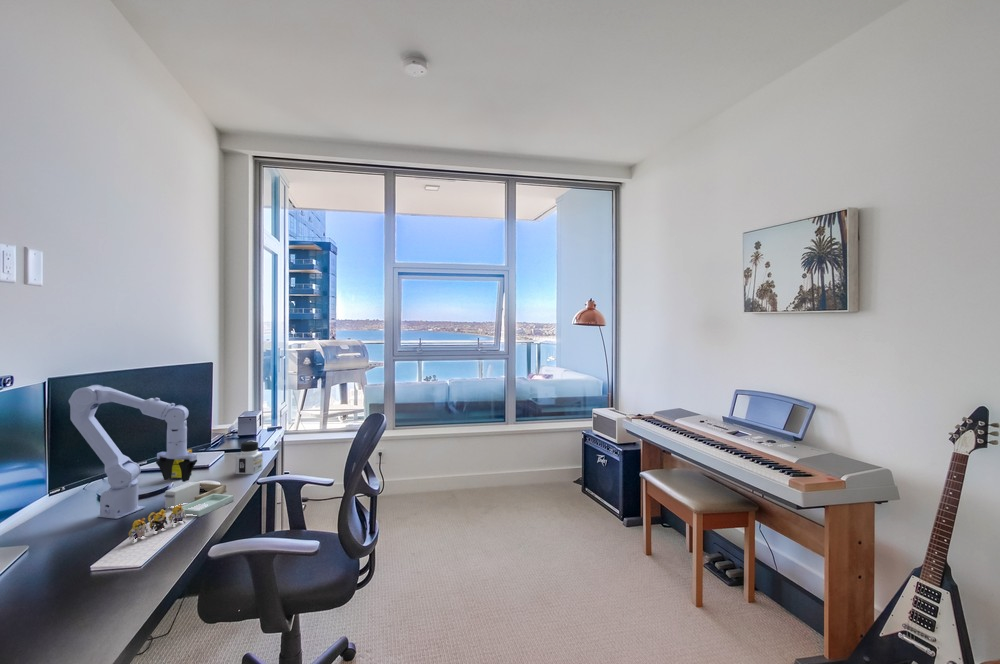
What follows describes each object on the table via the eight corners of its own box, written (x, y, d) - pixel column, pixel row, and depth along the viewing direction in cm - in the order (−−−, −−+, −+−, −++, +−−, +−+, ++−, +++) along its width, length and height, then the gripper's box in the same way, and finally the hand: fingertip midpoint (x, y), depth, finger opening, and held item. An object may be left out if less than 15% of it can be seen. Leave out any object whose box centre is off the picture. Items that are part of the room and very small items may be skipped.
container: (253, 474, 192) (253, 444, 192) (235, 474, 192) (235, 443, 192) (262, 469, 200) (263, 439, 200) (245, 468, 200) (245, 439, 200)
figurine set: (124, 543, 129) (124, 520, 129) (181, 521, 145) (181, 500, 145) (132, 545, 128) (133, 522, 128) (188, 522, 144) (189, 502, 144)
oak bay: (196, 504, 158) (196, 497, 158) (168, 501, 161) (168, 494, 161) (226, 491, 171) (226, 485, 171) (200, 489, 174) (200, 482, 174)
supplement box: (181, 479, 185) (182, 453, 185) (167, 479, 185) (167, 452, 185) (192, 475, 190) (192, 449, 190) (178, 474, 191) (178, 449, 191)
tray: (198, 517, 148) (198, 511, 148) (176, 514, 149) (176, 508, 149) (233, 501, 162) (233, 495, 162) (213, 499, 164) (213, 493, 164)
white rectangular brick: (173, 510, 154) (173, 492, 154) (163, 509, 154) (163, 491, 154) (199, 498, 164) (199, 482, 164) (189, 498, 165) (190, 481, 165)
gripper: (204, 439, 160) (203, 477, 160) (170, 437, 162) (169, 475, 162) (186, 444, 153) (186, 484, 153) (151, 441, 156) (151, 481, 156)
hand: (176, 480), depth 157 cm, fingers open, 7 cm apart
